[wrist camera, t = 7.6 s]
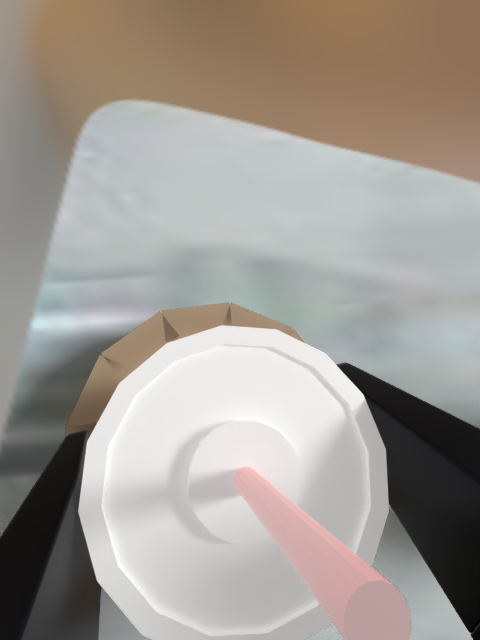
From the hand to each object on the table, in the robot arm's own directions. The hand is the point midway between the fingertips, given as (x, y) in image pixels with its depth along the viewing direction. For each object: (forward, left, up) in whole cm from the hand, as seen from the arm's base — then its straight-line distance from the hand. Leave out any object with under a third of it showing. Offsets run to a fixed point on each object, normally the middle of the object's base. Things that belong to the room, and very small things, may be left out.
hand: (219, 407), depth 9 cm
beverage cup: (-1, -1, -7) cm, 8 cm away
